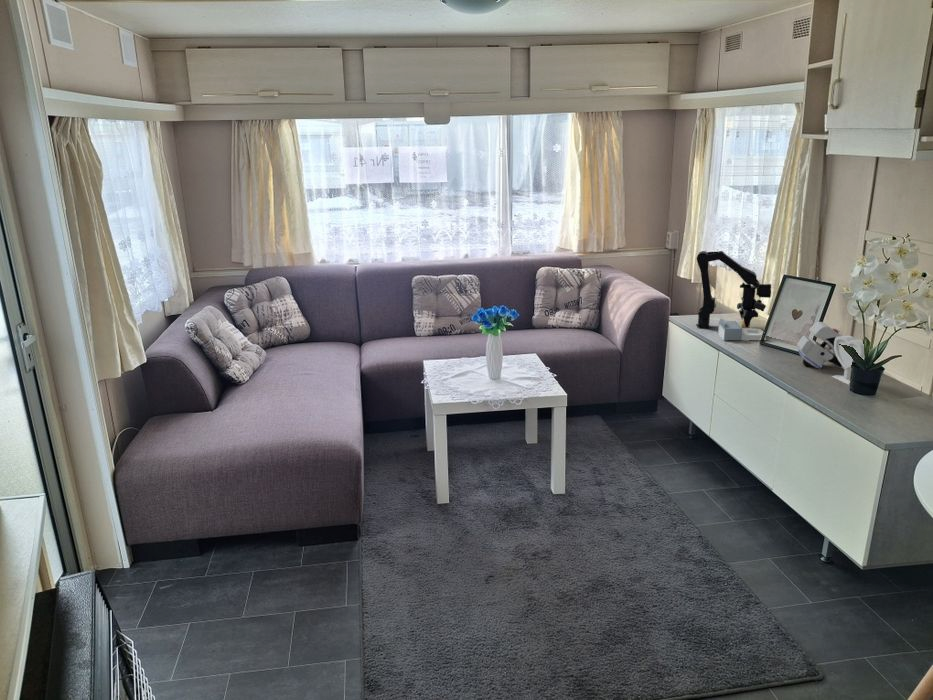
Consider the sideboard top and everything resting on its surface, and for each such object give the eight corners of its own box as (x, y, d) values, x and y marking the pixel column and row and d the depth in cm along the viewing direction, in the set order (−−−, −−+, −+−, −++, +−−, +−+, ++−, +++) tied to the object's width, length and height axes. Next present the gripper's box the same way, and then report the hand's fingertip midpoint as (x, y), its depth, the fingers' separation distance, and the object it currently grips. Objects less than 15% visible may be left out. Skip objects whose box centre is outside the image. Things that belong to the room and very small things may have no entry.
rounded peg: (740, 327, 368) (741, 317, 366) (748, 327, 367) (749, 317, 366) (742, 329, 364) (743, 319, 362) (750, 329, 363) (751, 319, 362)
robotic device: (833, 386, 306) (867, 351, 299) (793, 358, 305) (826, 322, 299) (825, 378, 316) (858, 343, 309) (786, 351, 315) (818, 315, 308)
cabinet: (718, 332, 361) (719, 317, 358) (734, 332, 360) (735, 317, 357) (724, 340, 348) (725, 324, 345) (741, 340, 347) (742, 324, 344)
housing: (718, 333, 360) (719, 324, 358) (759, 334, 358) (760, 324, 356) (723, 340, 349) (724, 330, 347) (766, 341, 346) (767, 331, 345)
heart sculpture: (828, 374, 299) (833, 333, 293) (838, 373, 300) (844, 332, 294) (854, 387, 284) (860, 344, 279) (865, 386, 285) (871, 343, 280)
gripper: (770, 300, 351) (767, 331, 355) (760, 292, 368) (757, 321, 373) (746, 300, 352) (744, 331, 357) (737, 292, 370) (735, 321, 374)
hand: (745, 326), depth 365 cm, fingers closed on rounded peg, 4 cm apart
